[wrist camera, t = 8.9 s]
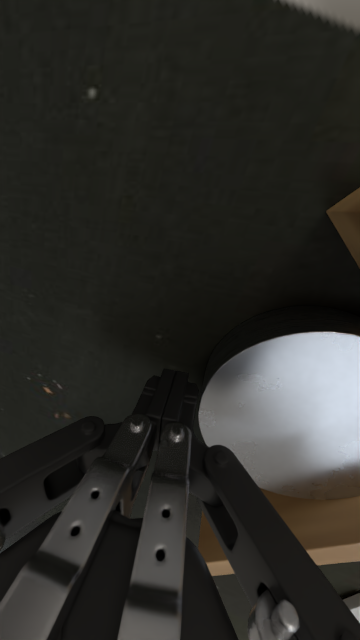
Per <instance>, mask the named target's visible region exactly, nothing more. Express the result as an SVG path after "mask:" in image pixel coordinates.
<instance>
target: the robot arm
mask: <svg viewBox="0 0 360 640" xmlns="http://www.w3.org/2000/svg"><path fill="white" fill-rule="evenodd" d="M188 376H189V373H185V372H180V371H174V370H169V369H164V370H163V372H162V375H161V377H159V376H153V377H151V378H150V379H149V380H148V381H147V383H146V385H145V388H144V390H143V392H142V394H141V396H140V398H139V400H138V403H137V405H136V407H135V409H134V411H133V413H132V415H130V416H128V417H127V418H126V419H125V420H124V421H123V422H121V423H118V424H106V425H104V422H103V420H102V419H100V418H99V417H95V416H89V417H85V418H83V419H81V420H79V421H77V422H75V423H73V424H70V425H68V426H66V427H64V428H62V429H60V430H58V431H56V432H54V433H52V434H50V435H48V436H46V437H44V438H42V439H40V440H38V441H36V442H34V443H31V444H29V445H27V446H25V447H23V448H21V449H19V450H17V451H15V452H13V453H11V454H9V455H7V456H5V457H3V458H1V459H0V551H1V549H2V547H3V545H4V542H5V540H6V539H7V538H9V537H10V536H12V535H13V534H15V533H16V532H18V531H19V530H21V529H22V528H24V527H25V526H27V525H28V524H30V523H31V522H33V521H34V520H36V519H37V518H39V517H40V516H42V515H43V514H45V513H46V512H48V511H49V510H51V509H52V508H54V507H55V506H57V505H58V504H60V503H61V502H63V501H64V500H66V499H67V498H69V497H70V496H71V498H70V500H69V501H68V503H67V505H66V506H65V508H64V509H63V511H61V512H59V513H57V514H55V515H53V516H52V517H50V518H49V519H47V520H46V521H44V522H43V523H42V524H40V525H39V526H38V527H36V528H35V529H33V530H32V531H31V532H29V533H28V534H27V535H25V536H24V537H22V538H21V539H20V540H18V541H17V542H15V543H14V544H13V545H11V546H10V547H9V548H7V549H6V550H4V551H3V552H2V553H0V640H238V638H237V635H236V633H235V630H234V628H233V626H232V623H231V621H230V619H229V616H228V614H227V611H226V609H225V607H224V604H223V602H222V600H221V597H220V595H219V592H218V590H217V588H216V585H215V583H214V580H213V578H212V576H211V573H210V571H209V569H208V566H207V564H206V562H205V560H204V558H203V556H202V555H201V553H200V552H199V550H198V549H197V547H196V546H195V545H194V544H193V543H192V542H191V541H190V540H189V539H188V538H187V537H186V528H187V512H188V497H189V492H190V493H192V494H193V495H195V496H196V497H197V500H198V503H199V505H200V507H201V509H202V511H203V513H204V515H205V517H206V519H207V521H208V522H209V524H210V526H211V528H212V530H213V532H214V534H215V536H216V538H217V540H218V542H219V544H220V546H221V548H222V550H223V552H224V554H225V555H226V557H227V559H228V561H229V563H230V565H231V567H232V569H233V571H234V573H235V575H236V577H237V579H238V581H239V583H240V585H241V586H242V588H243V590H244V592H245V594H246V596H247V598H248V600H249V602H250V604H251V606H252V610H251V612H250V615H249V619H248V635H249V640H360V623H359V621H358V620H357V619H356V617H355V616H354V615H353V613H352V612H351V611H350V609H349V608H348V607H347V605H346V604H345V602H344V601H343V600H342V598H341V597H340V596H339V594H338V593H337V592H336V590H335V589H334V588H333V586H332V585H331V584H330V582H329V581H328V580H327V578H326V577H325V576H324V574H323V573H322V572H321V570H320V569H319V568H318V566H317V565H316V563H315V562H314V561H313V559H312V558H311V557H310V555H309V554H308V553H307V551H306V550H305V549H304V547H303V546H302V545H301V543H300V542H299V541H298V539H297V538H296V537H295V535H294V534H293V533H292V531H291V530H290V529H289V527H288V526H287V524H286V523H285V522H284V520H283V519H282V518H281V516H280V515H279V514H278V512H277V511H276V510H275V508H274V507H273V506H272V504H271V503H270V502H269V500H268V499H267V498H266V496H265V495H264V494H263V492H262V491H261V489H260V488H259V487H258V485H257V484H256V483H255V481H254V480H253V479H252V477H251V476H250V475H249V473H248V472H247V471H246V469H245V468H244V467H243V465H242V464H241V463H240V461H239V460H238V459H237V457H236V456H235V455H234V453H233V452H232V451H231V450H230V449H229V448H227V447H225V446H222V445H213V446H211V447H208V446H207V445H205V444H203V443H202V442H200V441H199V440H198V439H197V438H196V436H195V435H194V432H193V423H194V417H195V411H196V404H197V398H198V392H199V390H198V388H197V385H196V384H195V383H190V382H188ZM153 450H155V451H158V454H157V459H156V464H155V469H154V473H153V474H152V478H151V483H150V488H149V492H148V497H147V502H146V507H145V512H144V517H143V518H138V519H130V517H131V513H132V509H133V505H134V502H135V500H136V497H137V495H138V492H139V489H140V487H141V484H142V482H143V479H144V477H145V474H146V472H147V469H148V466H149V461H150V459H151V456H152V452H153Z"/></svg>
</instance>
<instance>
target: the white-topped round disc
mask: <svg viewBox="0 0 360 640" xmlns="http://www.w3.org/2000/svg"><path fill="white" fill-rule="evenodd" d="M198 418H199V426H200V430H201V434H202V436H203V438H204V441H205V443H206V445H207V446H208V447H211V446H213V445H222V446H225V447H227V448H229V449H230V450H231V451H232V452H233V453H234V455H235V456H236V457H237V459H238V460H239V461H240V463H241V464H242V465H243V467H244V468H245V469H246V471H247V472H248V473H249V475H250V476H251V477H252V479H253V480H254V481H255V483H256V484H257V485H258V487H260V488H262V489H265V490H268V491H271V492H274V493H277V494H282V495H286V496H291V497H297V498H305V499H341V498H349V497H356V496H360V317H358V316H356V315H353V314H351V313H348V312H345V311H342V310H337V309H333V308H328V307H319V306H294V307H286V308H280V309H276V310H272V311H268V312H265V313H263V314H260V315H257V316H255V317H253V318H251V319H249V320H247V321H245V322H243V323H241V324H240V325H238V326H237V327H235V328H234V329H233V330H231V331H230V332H229V333H228V334H227V335H226V336H225V337H224V338H223V339H222V340H221V341H220V342H219V343H218V345H217V346H216V347H215V349H214V351H213V352H212V354H211V356H210V358H209V360H208V363H207V366H206V370H205V375H204V380H203V386H202V391H201V397H200V402H199V411H198Z"/></svg>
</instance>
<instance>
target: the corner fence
mask: <svg viewBox="0 0 360 640" xmlns="http://www.w3.org/2000/svg"><path fill="white" fill-rule="evenodd" d="M326 212H327V214H328V216H329V217H330V219H331V221H332V223H333V224H334V226H335V228H336V229H337V231H338V233H339V234H340V236H341V238H342V239H343V241H344V243H345V244H346V246H347V248H348V249H349V251H350V253H351V255H352V256H353V258H354V260H355V261H356V263H357V265H358V266H359V268H360V188H358V189H357V190H355V191H354V192H352V193H351V194H350V195H348V196H347V197H345V198H344V199H342V200H341V201H340V202H338V203H337V204H335V205H334V206H332V207H331V208H330V209H328V210H327V211H326ZM259 488H260V487H259ZM260 489H261V491H262V492H263V494H264V495H265V496H266V498H267V499H268V500H269V502H270V503H271V504H272V506H273V507H274V508H275V510H276V511H277V512H278V514H279V515H280V516H281V518H282V519H283V520H284V522H285V523H286V524H287V526H288V527H289V529H290V530H291V531H292V533H293V534H294V535H295V537H296V538H297V539H298V541H299V542H300V543H301V545H302V546H303V547H304V549H305V550H306V551H307V553H308V554H309V555H310V557H311V558H312V559H313V561H314V562H315V563H316V565H324V564H334V563H344V562H354V561H360V496H356V497H349V498H341V499H305V498H297V497H291V496H286V495H282V494H277V493H274V492H271V491H268V490H265V489H262V488H260ZM198 550H199V552H200V553H201V555H202V556H203V558H204V560H205V562H206V564H207V566H208V569H209V571H210V573H211V576H215V575H225V574H235V573H234V571H233V569H232V567H231V565H230V563H229V561H228V559H227V557H226V555H225V554H224V552H223V550H222V548H221V546H220V544H219V542H218V540H217V538H216V536H215V534H214V532H213V530H212V528H211V526H210V524H209V522H208V521H207V519H206V517H205V515H204V513H203V511H202V518H201V527H200V536H199V546H198Z"/></svg>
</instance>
